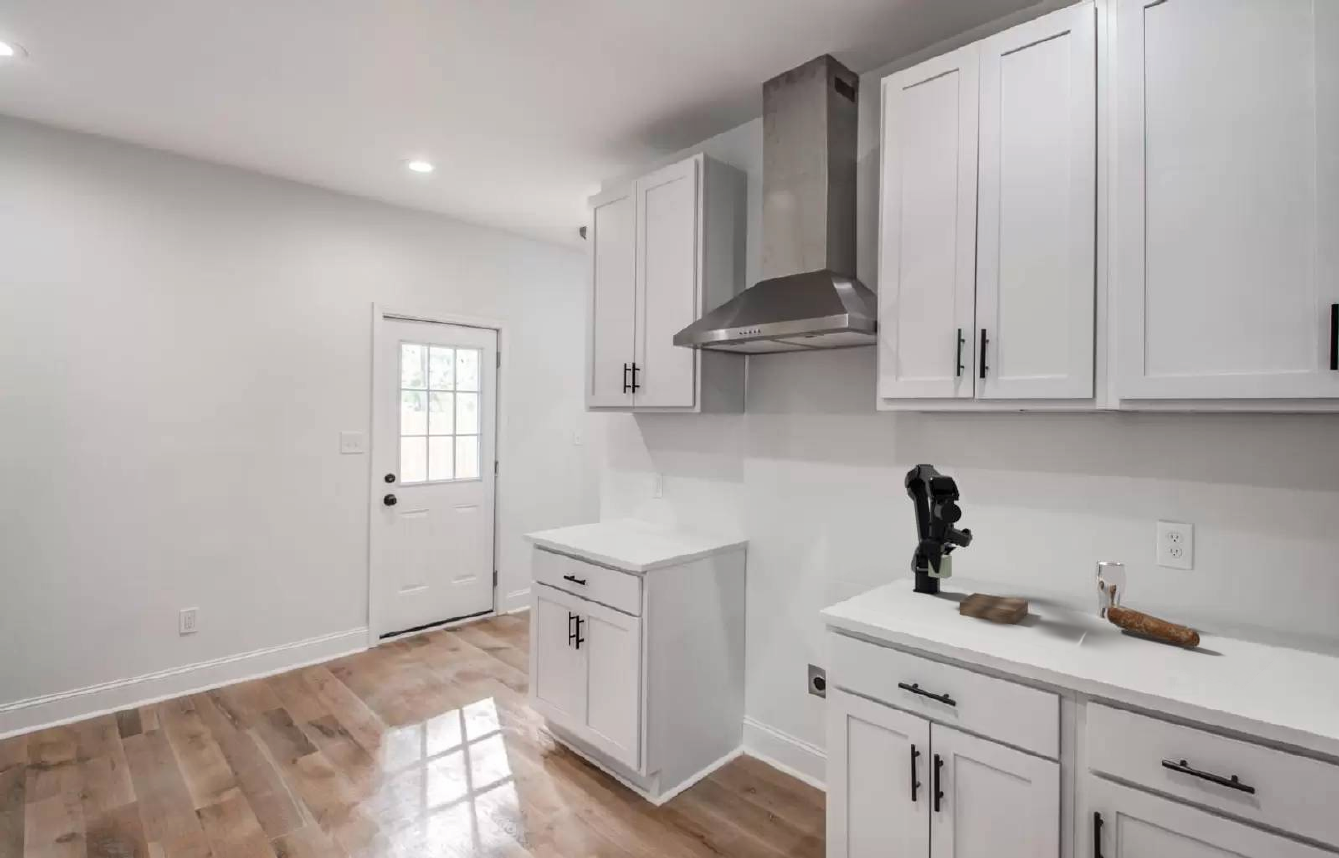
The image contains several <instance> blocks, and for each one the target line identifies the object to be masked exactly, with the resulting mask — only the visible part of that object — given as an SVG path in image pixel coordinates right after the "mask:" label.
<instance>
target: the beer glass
mask: <svg viewBox="0 0 1339 858" xmlns="http://www.w3.org/2000/svg"><path fill="white" fill-rule="evenodd" d="M1125 566H1126V565H1125V564H1123V563H1119V562H1114V561H1113V562H1112V561H1096V562H1095V570H1094V572H1095V573H1094V583H1095V591H1096V594H1097V600H1098V603H1097V604H1098V608H1097V612H1096V616H1097V617H1098V618H1099V619H1104V620H1108V618H1107V611H1108V608H1110V607H1111V605H1112V604H1116V605H1120V606H1123V602H1124V601H1123V600H1124V596H1125V591H1126V585H1127V582H1126V581H1127V579H1126V578H1127V577H1126V575H1127V574H1126V569H1125ZM1108 621H1109V620H1108Z"/></svg>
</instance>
